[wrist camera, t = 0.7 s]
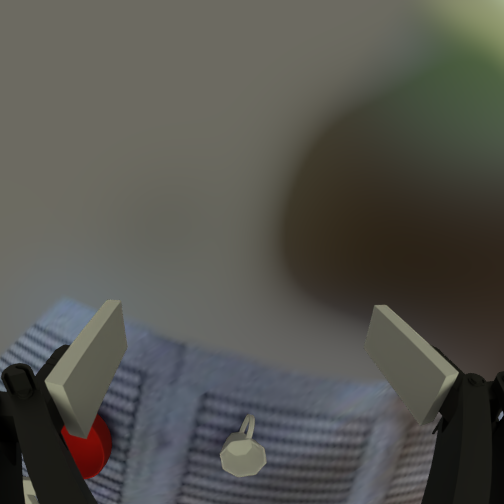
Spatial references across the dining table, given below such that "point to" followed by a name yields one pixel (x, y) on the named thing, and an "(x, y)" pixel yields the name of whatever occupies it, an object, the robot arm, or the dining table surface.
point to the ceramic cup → (90, 448)
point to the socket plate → (29, 491)
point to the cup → (243, 452)
